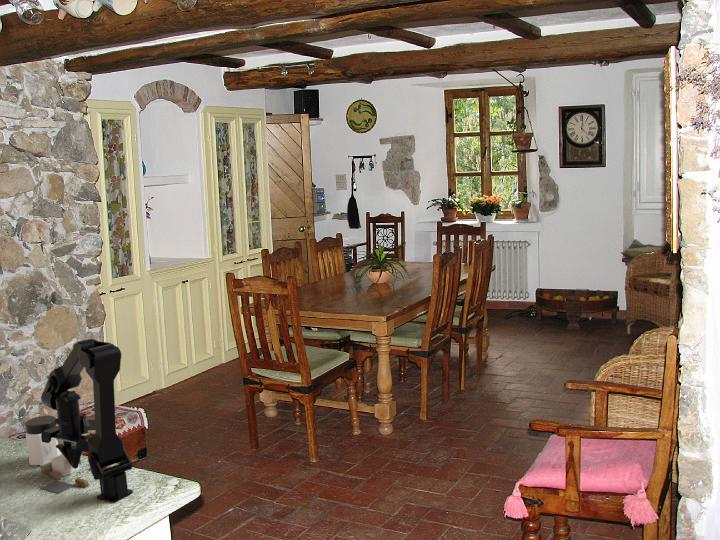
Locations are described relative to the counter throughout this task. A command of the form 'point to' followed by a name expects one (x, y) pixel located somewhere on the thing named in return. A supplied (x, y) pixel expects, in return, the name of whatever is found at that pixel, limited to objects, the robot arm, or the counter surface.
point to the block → (62, 465)
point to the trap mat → (57, 486)
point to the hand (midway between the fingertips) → (75, 468)
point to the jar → (40, 440)
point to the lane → (48, 472)
